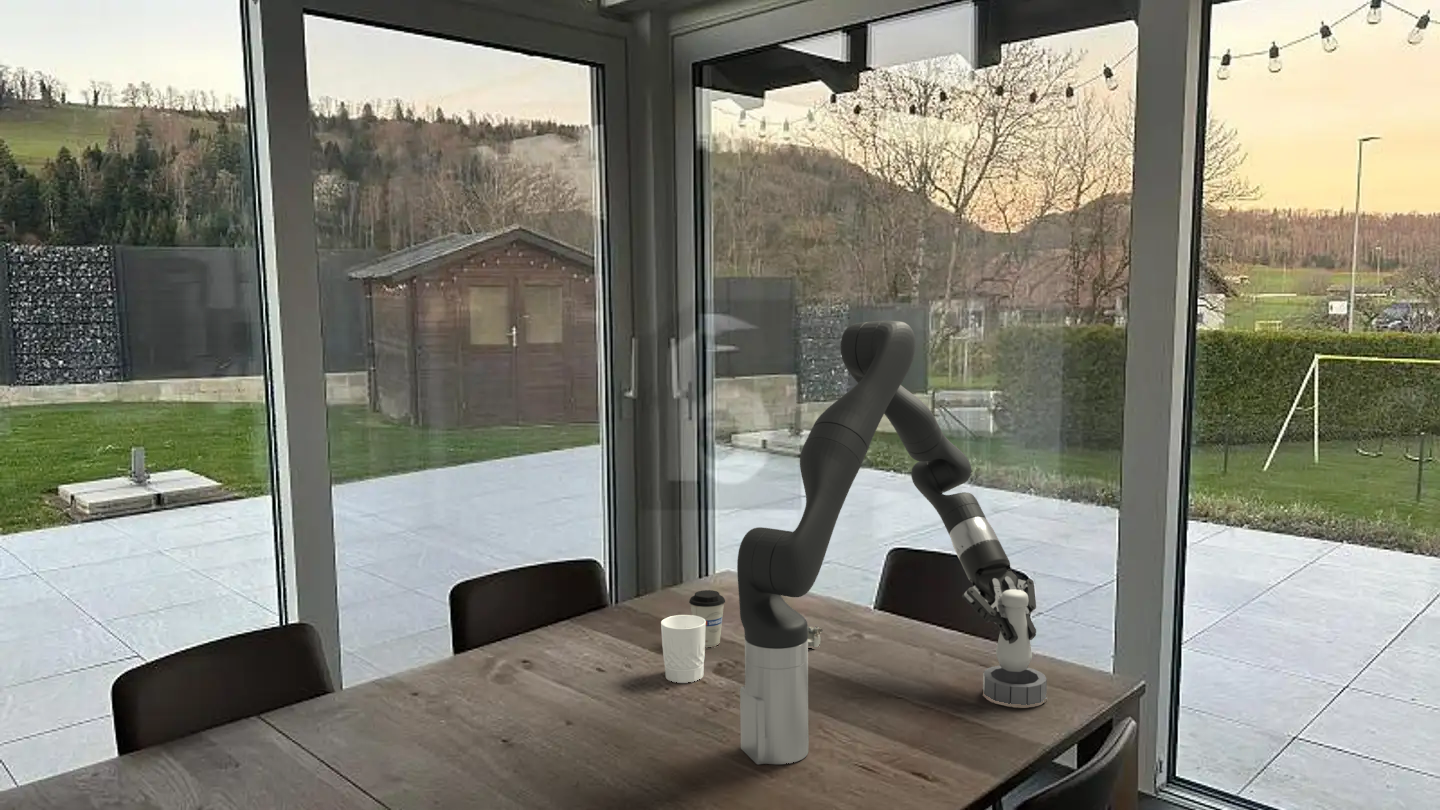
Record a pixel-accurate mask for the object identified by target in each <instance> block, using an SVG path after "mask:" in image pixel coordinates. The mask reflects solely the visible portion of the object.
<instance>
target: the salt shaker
mask: <svg viewBox="0 0 1440 810" xmlns="http://www.w3.org/2000/svg"><path fill="white" fill-rule="evenodd" d="M1028 602H1029V599H1028V595H1027V593H1026V592H1024V591H1021V590H1019V589H1017V590H1016V589H1010V590H1006V591H1004V592H1003V593H1002V604H1003V605H1004V608H1005V612H1006V614H1007V617H1006V618H1008V620H1009V622H1010V624H1012V625H1013V627H1014V629H1015V631H1016V633H1017V635H1018V639H1017V640H1016V641H1015V642H1014V643H1011V644H1009V640H1008V641H1006V640H1005V639H1004V638H1003V636H1002V634H1001V631H1000V630H999V635H998V641H997V644H996V648H995V653H996V659H997V661H998V663H999V665H1000V666H1001V668H1003V669H1005V670H1007V671H1012V672H1021V671H1024V670H1026V669H1027V667H1028V668H1029V665H1030V663H1031V661H1032V659H1033V653H1032V646H1031V640H1029V634H1028V626H1027V620H1026V613H1025V607H1026V606H1028Z"/></svg>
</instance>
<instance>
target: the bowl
mask: <svg viewBox="0 0 1440 810" xmlns="http://www.w3.org/2000/svg"><path fill="white" fill-rule="evenodd" d="M982 673H983V674H982V675H983V676H982V678H983V679H982V689H983V691H984V694H985V695H986V696H988V697H990V698H991V699H993V700H995V701H999V702H1004V703H1008V704H1010V703H1011V704H1021V705H1026V704H1027V705H1030V704H1035V703H1041V702H1042V701H1043V702H1044V699H1047V700H1048V696H1047V697H1046V694H1047V688H1048V687H1047V682H1048V679H1047V677H1046V675H1045V674H1044V672H1041V671H1040V670H1039V671H1038V670H1037V669H1035V668H1031V667H1029V666H1028V667H1027V669H1026V670H1024V671H1021V672H1012V671H1007V670H1005V669H1003V668H1001V666H1000V664H999V665H995V666H990V667H988V668H986V669H985V670H983V672H982Z"/></svg>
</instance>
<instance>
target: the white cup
mask: <svg viewBox="0 0 1440 810" xmlns="http://www.w3.org/2000/svg"><path fill="white" fill-rule="evenodd" d="M660 626H661V627H660V628H661V645H662V655H663V664H664V673H665V678H666V680H668V682H671V681H672V682H673V683H676V682H677V684H689V683H688V682H691V683H695V682H698V681H700V680H701V679H702V678H703V677H704V672H705V671H704V664H705V663H704V662H705V657H706V656H705V655H706V653H705V652H706V648H705V632H706V620H705V619H704V618H702V617H699V616H694V615H692V614H677V615H676V614H675V615H672V616H668V617H665V618H664V619H662V620H661V621H660ZM699 679H700V680H699ZM697 680H698V681H697ZM694 681H695V682H694ZM672 682H671V683H672Z"/></svg>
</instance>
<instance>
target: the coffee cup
mask: <svg viewBox="0 0 1440 810" xmlns="http://www.w3.org/2000/svg"><path fill="white" fill-rule="evenodd" d="M725 603H726V599H725V597H724V596H723V595H721V594H720V592H719V591H716V590H710V589H709V590H707V589H705V590H699V591H696V592H694V595H693V596H691V597H690V599H689V601H688V604H690V609H691V611H690V612H691V615H694V616H699V617H702V618H704V619H705V620H706V632H705V647H712V646H716V645H718V644H719V643H720V642H721V636H722V635H721V633H722V624H723V615H724V614H723V613H724V605H725ZM720 644H721V643H720Z"/></svg>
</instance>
